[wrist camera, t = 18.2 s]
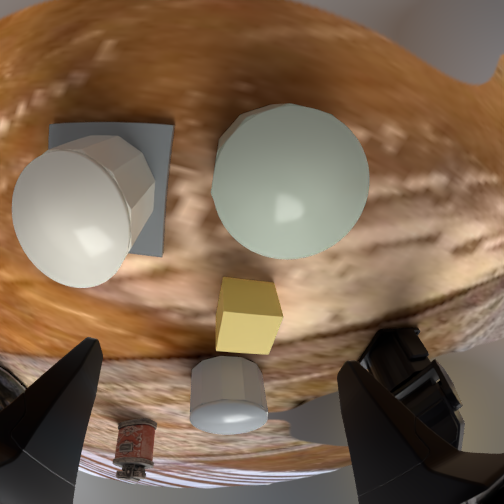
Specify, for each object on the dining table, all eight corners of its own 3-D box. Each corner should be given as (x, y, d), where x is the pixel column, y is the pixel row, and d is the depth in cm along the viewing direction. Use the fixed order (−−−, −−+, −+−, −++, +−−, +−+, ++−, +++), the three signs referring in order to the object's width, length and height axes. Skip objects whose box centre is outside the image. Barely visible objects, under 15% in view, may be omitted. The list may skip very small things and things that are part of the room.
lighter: (145, 416, 32) (138, 477, 23) (161, 425, 33) (158, 483, 25) (114, 423, 33) (106, 475, 24) (130, 431, 35) (124, 482, 26)
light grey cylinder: (253, 394, 30) (258, 434, 25) (190, 391, 28) (189, 432, 24) (267, 358, 26) (276, 404, 21) (193, 353, 25) (190, 401, 20)
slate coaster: (163, 253, 19) (162, 257, 19) (58, 239, 18) (55, 243, 17) (175, 124, 15) (173, 125, 14) (53, 123, 13) (49, 124, 13)
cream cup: (152, 246, 18) (131, 297, 13) (62, 235, 17) (25, 277, 12) (159, 137, 15) (130, 153, 10) (58, 135, 13) (6, 153, 9)
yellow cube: (262, 319, 23) (268, 354, 20) (215, 314, 23) (215, 350, 19) (273, 282, 21) (283, 316, 18) (222, 275, 21) (223, 311, 17)
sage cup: (314, 224, 19) (343, 266, 14) (208, 209, 18) (203, 250, 13) (341, 122, 16) (386, 132, 11) (226, 96, 14) (228, 90, 10)
